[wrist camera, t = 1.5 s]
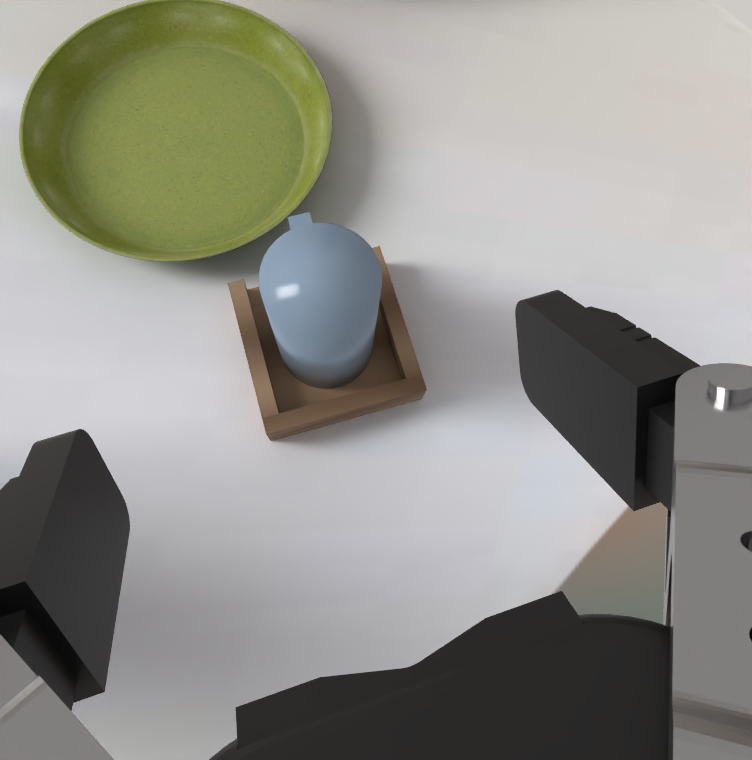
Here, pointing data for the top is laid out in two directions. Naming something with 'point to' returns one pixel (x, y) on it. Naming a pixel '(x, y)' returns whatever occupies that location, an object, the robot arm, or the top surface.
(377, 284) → the pale blue smooth-sided part
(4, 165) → the top surface
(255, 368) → the holder
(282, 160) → the saucer
